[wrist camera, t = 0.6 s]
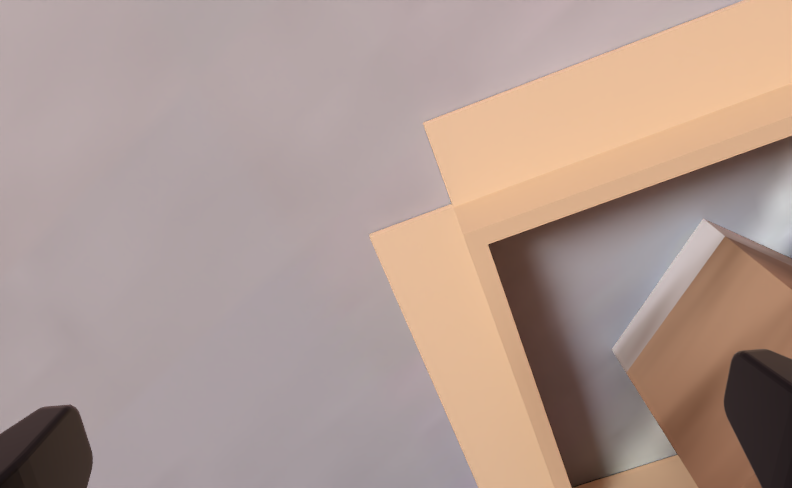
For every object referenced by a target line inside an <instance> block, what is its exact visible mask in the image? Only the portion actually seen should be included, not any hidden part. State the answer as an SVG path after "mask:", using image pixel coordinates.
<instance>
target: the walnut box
mask: <svg viewBox="0 0 792 488" xmlns="http://www.w3.org/2000/svg"><path fill="white" fill-rule="evenodd" d="M754 349H768V350H771V351H773V352H776V353H778V354H781V355H783V356H785V357H788V358H790V359H792V258H789V257H787V256H785V255H783V254H781V253H778V252H776V251H774V250H772V249H769V248H767V247H765V246H763V245H761V244H758V243H756V242H754V241H752V240H750V239H747V238H745V237H743V236H741V235H738V234H736V233H734V232H732V231H730V230H727V229H725V228H723V227H721V226H718V225H716V224H714V223H712V222H710V221H707V220H705V219H702V221H701V222H700V224H699V225H698V227H697V228H696V230H695V231H694V232H693V234H692V235H691V237H690V238H689V240H688V241H687V242H686V244H685V245H684V247H683V248H682V250H681V251H680V252H679V254H678V255H677V257H676V258H675V260H674V261H673V262H672V264H671V265H670V267H669V268H668V270H667V271H666V272H665V274H664V275H663V277H662V278H661V280H660V281H659V282H658V284H657V285H656V287H655V288H654V290H653V291H652V292H651V294H650V295H649V297H648V298H647V300H646V301H645V302H644V304H643V305H642V307H641V308H640V310H639V311H638V312H637V314H636V315H635V317H634V318H633V320H632V321H631V323H630V324H629V325H628V327H627V328H626V330H625V331H624V333H623V334H622V335H621V337H620V338H619V340H618V341H617V343H616V344H615V345H614V347H613V348H612V351H613V352H614V354H615V356H616V357H617V359H618V360H619V362H620V364H621V365H622V367H623V368H624V370H625V372H626V373H627V375H628V376H629V378H630V380H631V381H632V383H633V384H634V386H635V387H636V389H637V391H638V392H639V394H640V395H641V397H642V399H643V400H644V402H645V403H646V405H647V407H648V408H649V410H650V411H651V413H652V415H653V416H654V418H655V419H656V421H657V422H658V424H659V426H660V427H661V429H662V430H663V432H664V434H665V435H666V437H667V438H668V440H669V442H670V443H671V445H672V446H673V448H674V450H675V451H676V453H677V454H678V456H679V457H680V459H681V461H682V462H683V464H684V465H685V467H686V469H687V470H688V472H689V473H690V475H691V477H692V478H693V480H694V481H695V483H696V485H697V486H698V488H762V487H761V485H760V483H759V481H758V479H757V477H756V475H755V473H754V471H753V469H752V467H751V465H750V463H749V461H748V459H747V457H746V455H745V453H744V451H743V449H742V447H741V445H740V443H739V441H738V439H737V437H736V435H735V433H734V431H733V429H732V427H731V425H730V423H729V421H728V419H727V416H726V413H725V410H724V394H725V389H726V384H727V379H728V373H729V368H730V363H731V360H732V357H733V356H734V354H735V353H737V352H738V351H742V350H754Z"/></svg>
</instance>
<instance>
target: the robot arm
mask: <svg viewBox="0 0 792 488" xmlns="http://www.w3.org/2000/svg"><path fill="white" fill-rule="evenodd" d="M724 410H725V413H726V416H727V419H728V421H729V423H730V425H731V427H732V429H733V431H734V433H735V435H736V437H737V439H738V441H739V443H740V445H741V447H742V449H743V451H744V453H745V455H746V457H747V459H748V461H749V463H750V465H751V467H752V469H753V471H754V473H755V475H756V477H757V479H758V481H759V483H760V485H761V487H762V488H792V359H790V358H788V357H785V356H783V355H781V354H778V353H776V352H773V351H771V350H768V349H754V350H742V351H738V352H737V353H735V354H734V356H733V357H732V360H731V363H730V368H729V373H728V379H727V384H726V389H725V394H724ZM92 464H93V457H92V451H91V447H90V444H89V441H88V438H87V435H86V432H85V429H84V425H83V422H82V419H81V416H80V414H79V411H78V410H77V409H76V407H74V406H72V405H60V406H47V407H42V408H40V409H38V410H36V411H35V412H33V413H32V414H30V415H29V416H27V417H26V418H24V419H22V420H21V421H19V422H18V423H16V424H15V425H13V426H12V427H10V428H9V429H7V430H6V431H4V432H3V433H1V434H0V488H87V485H88V482H89V478H90V474H91V470H92Z"/></svg>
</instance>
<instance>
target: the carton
mask: <svg viewBox="0 0 792 488" xmlns="http://www.w3.org/2000/svg"><path fill="white" fill-rule="evenodd" d="M423 125H424V128H425V131H426V133H427V136H428V139H429V142H430V144H431V147H432V150H433V153H434V156H435V158H436V161H437V164H438V167H439V169H440V172H441V175H442V178H443V180H444V183H445V186H446V189H447V192H448V194H449V197H450V200H451V203H452V204H450V205H448V206H445V207H442V208H439V209H437V210H434V211H431V212H428V213H426V214H423V215H420V216H418V217H415V218H412V219H409V220H407V221H404V222H401V223H398V224H396V225H393V226H390V227H388V228H385V229H382V230H379V231H377V232H374V233H371V234H370V239H371V242H372V244H373V246H374V248H375V251H376V253H377V255H378V258H379V260H380V262H381V265H382V267H383V269H384V271H385V274H386V276H387V278H388V281H389V283H390V285H391V288H392V290H393V292H394V294H395V297H396V299H397V301H398V304H399V306H400V308H401V311H402V313H403V315H404V317H405V320H406V322H407V324H408V327H409V329H410V331H411V334H412V336H413V338H414V340H415V343H416V345H417V347H418V350H419V352H420V354H421V357H422V359H423V361H424V363H425V366H426V368H427V370H428V373H429V375H430V377H431V380H432V382H433V384H434V386H435V389H436V391H437V393H438V396H439V398H440V400H441V403H442V405H443V407H444V409H445V412H446V414H447V416H448V419H449V421H450V423H451V426H452V428H453V430H454V432H455V435H456V437H457V439H458V442H459V444H460V446H461V448H462V451H463V453H464V455H465V458H466V460H467V462H468V465H469V467H470V469H471V471H472V474H473V476H474V478H475V481H476V483H477V485H478V488H572V487H571V484H570V482H569V479H568V476H567V473H566V470H565V467H564V464H563V461H562V458H561V455H560V452H559V450H558V447H557V444H556V441H555V438H554V435H553V432H552V429H551V426H550V423H549V420H548V418H547V415H546V412H545V409H544V406H543V403H542V400H541V397H540V394H539V391H538V388H537V386H536V383H535V380H534V377H533V374H532V371H531V368H530V365H529V362H528V359H527V357H526V354H525V351H524V348H523V345H522V342H521V339H520V336H519V333H518V330H517V327H516V325H515V322H514V319H513V316H512V313H511V310H510V307H509V304H508V301H507V298H506V295H505V293H504V290H503V287H502V284H501V281H500V278H499V275H498V272H497V269H496V266H495V263H494V261H493V258H492V255H491V252H490V249H489V246H488V244H490V243H493V242H496V241H499V240H502V239H504V238H507V237H510V236H513V235H516V234H518V233H521V232H524V231H527V230H530V229H532V228H535V227H538V226H541V225H544V224H546V223H549V222H552V221H555V220H557V219H560V218H563V217H566V216H569V215H571V214H574V213H577V212H580V211H583V210H585V209H588V208H591V207H594V206H597V205H599V204H602V203H605V202H608V201H611V200H613V199H616V198H619V197H622V196H624V195H627V194H630V193H633V192H636V191H638V190H641V189H644V188H647V187H650V186H652V185H655V184H658V183H661V182H664V181H666V180H669V179H672V178H675V177H678V176H680V175H683V174H686V173H689V172H691V171H694V170H697V169H700V168H703V167H705V166H708V165H711V164H714V163H717V162H719V161H722V160H725V159H728V158H731V157H733V156H736V155H739V154H742V153H745V152H747V151H750V150H753V149H756V148H758V147H761V146H764V145H767V144H770V143H772V142H775V141H778V140H781V139H784V138H786V137H789V136H792V0H744V1H741V2H738V3H736V4H733V5H730V6H728V7H725V8H723V9H720V10H717V11H715V12H712V13H709V14H707V15H704V16H702V17H699V18H696V19H694V20H691V21H688V22H686V23H683V24H681V25H678V26H675V27H673V28H670V29H668V30H665V31H662V32H660V33H657V34H654V35H652V36H649V37H647V38H644V39H641V40H639V41H636V42H633V43H631V44H628V45H626V46H623V47H620V48H618V49H615V50H612V51H610V52H607V53H605V54H602V55H599V56H597V57H594V58H592V59H589V60H586V61H584V62H581V63H578V64H576V65H573V66H571V67H568V68H565V69H563V70H560V71H557V72H555V73H552V74H550V75H547V76H544V77H542V78H539V79H536V80H534V81H531V82H529V83H526V84H523V85H521V86H518V87H516V88H513V89H510V90H508V91H505V92H502V93H500V94H497V95H495V96H492V97H489V98H487V99H484V100H481V101H479V102H476V103H474V104H471V105H468V106H466V107H463V108H460V109H458V110H455V111H453V112H450V113H447V114H445V115H442V116H440V117H437V118H434V119H432V120H429V121H426V122H424V123H423ZM573 488H698V486H697V485H696V483H695V481H694V480H693V478H692V477H691V475H690V473H689V472H688V470H687V469H686V467H685V465H684V464H683V462H682V461H681V459H680V457H679V456H678V455H675V456H672V457H669V458H665V459H662V460H659V461H656V462H653V463H649V464H646V465H643V466H640V467H637V468H634V469H630V470H627V471H624V472H621V473H618V474H615V475H611V476H608V477H605V478H602V479H599V480H596V481H592V482H589V483H586V484H583V485H580V486H577V487H573Z"/></svg>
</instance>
